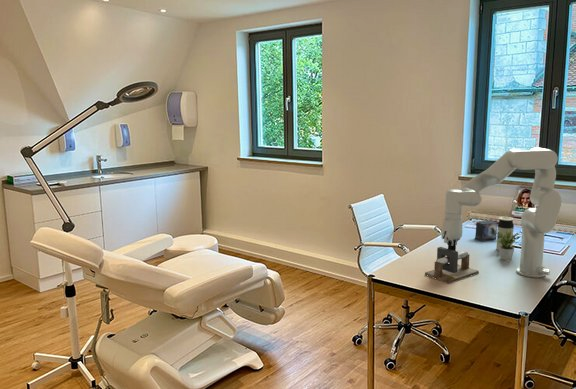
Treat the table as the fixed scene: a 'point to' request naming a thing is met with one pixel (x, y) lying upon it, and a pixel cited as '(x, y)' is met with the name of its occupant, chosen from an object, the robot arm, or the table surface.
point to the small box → (486, 230)
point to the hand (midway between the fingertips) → (451, 253)
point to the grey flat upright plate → (452, 261)
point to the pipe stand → (448, 276)
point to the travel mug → (504, 228)
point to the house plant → (507, 245)
